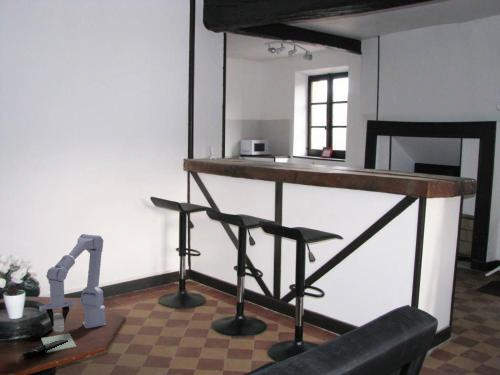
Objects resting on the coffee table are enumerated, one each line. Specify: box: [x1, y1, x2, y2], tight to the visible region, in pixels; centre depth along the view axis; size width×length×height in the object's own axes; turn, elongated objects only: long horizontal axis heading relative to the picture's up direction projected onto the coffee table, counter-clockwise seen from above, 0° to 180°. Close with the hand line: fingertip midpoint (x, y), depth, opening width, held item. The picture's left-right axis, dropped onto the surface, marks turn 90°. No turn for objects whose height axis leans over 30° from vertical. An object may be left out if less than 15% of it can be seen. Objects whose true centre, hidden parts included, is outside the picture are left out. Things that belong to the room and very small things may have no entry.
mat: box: [41, 333, 77, 353], centre depth 222 cm, size 12×16×1 cm
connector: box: [52, 312, 65, 333], centre depth 220 cm, size 4×13×5 cm, turn 30°
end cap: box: [31, 316, 54, 338], centre depth 233 cm, size 10×7×7 cm
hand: (58, 324), depth 221 cm, fingers closed on connector, 4 cm apart
